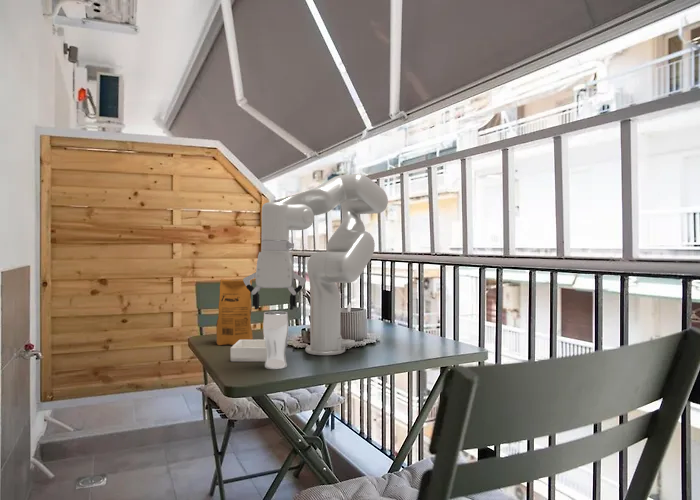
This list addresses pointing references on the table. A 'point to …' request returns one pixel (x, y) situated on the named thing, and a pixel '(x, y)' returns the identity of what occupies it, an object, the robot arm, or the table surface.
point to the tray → (248, 350)
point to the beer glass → (275, 338)
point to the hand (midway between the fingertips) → (274, 309)
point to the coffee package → (234, 313)
